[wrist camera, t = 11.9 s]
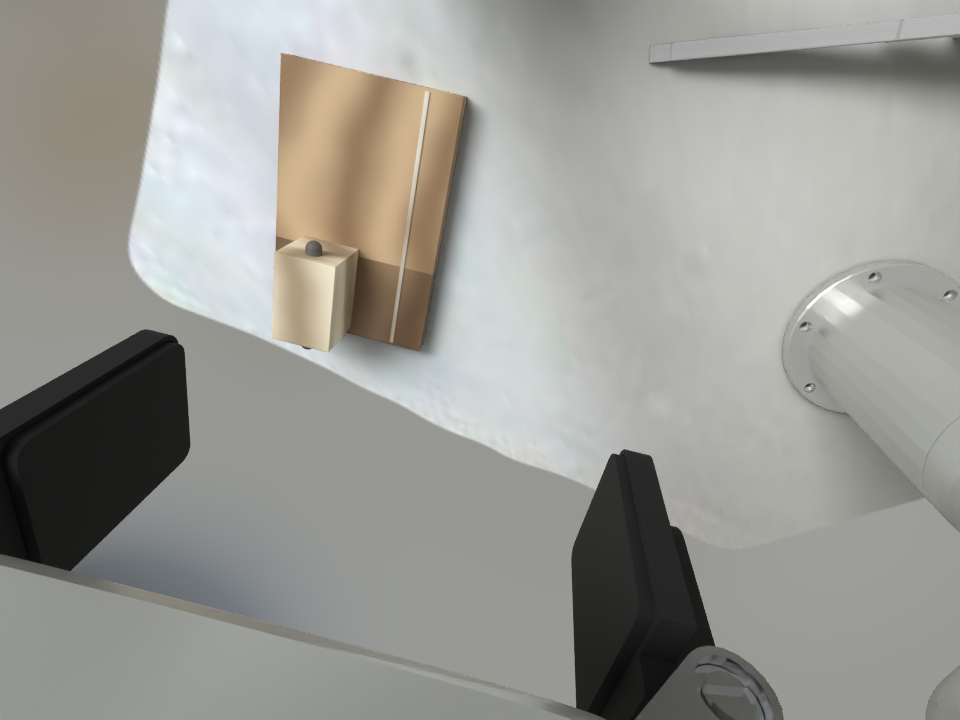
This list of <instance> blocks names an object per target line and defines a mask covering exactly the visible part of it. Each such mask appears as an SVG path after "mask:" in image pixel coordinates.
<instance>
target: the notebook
mask: <svg viewBox="0 0 960 720" xmlns="http://www.w3.org/2000/svg"><path fill="white" fill-rule="evenodd" d="M466 99H467V97H465V96H461V95H457V94H453V93H449V92H444V91H440V90H436V89H432V88H428V87H424V86H419V85H415V84H411V83H407V82H403V81H398V80H394V79H390V78H386V77H382V76H378V75H373V74H369V73H365V72H361V71H357V70H352V69H348V68H344V67H340V66H336V65H332V64H327V63H323V62H319V61H315V60H311V59H307V58H302V57H298V56H294V55H289V54H283V53H281V73H280V110H279V147H278V184H277V221H276V251H277V250H279V249H281V248H283V247H284V246H286V245H288V244H290V243H292V242H294V241H295V240H297V239H299V238H301V237H303V236H308V237H312V238H316V239H320V240H324V241H328V242H332V243H336V244H340V245H344V246H348V247H352V248H357V249H359V252H358V261H357V271H356V281H355V291H354V300H353V310H352V320H351V328H350V329H349V330H348V331H347V332H346V333H349V334H353V335H357V336H361V337H365V338H369V339H373V340H377V341H381V342H385V343H389V344H393V345H397V346H401V347H405V348H409V349H413V350H417V351H420V349H421V347H422V345H423V342H424V336H425V330H426V325H427V319H428V314H429V308H430V302H431V297H432V291H433V285H434V280H435V274H436V268H437V263H438V257H439V252H440V246H441V240H442V235H443V229H444V223H445V218H446V212H447V206H448V201H449V195H450V190H451V184H452V178H453V173H454V167H455V161H456V156H457V150H458V144H459V139H460V133H461V128H462V122H463V116H464V111H465V105H466Z"/></svg>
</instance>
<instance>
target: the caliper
mask: <svg viewBox="0 0 960 720" xmlns="http://www.w3.org/2000/svg"><path fill="white" fill-rule="evenodd" d="M952 36H953V38H960V14H950V15H941V16H931V17H921V18H911V19H903V20H896V21H886V22H876V23H866V24H856V25H846V26H836V27H826V28H816V29H806V30H795V31H785V32H775V33H765V34H755V35H745V36H735V37H725V38H715V39H705V40H695V41H685V42H675V43H670V44H660V45H652V46H650V59H649V63H654V62H665V61H678V60H691V59H702V58H713V57H725V56H736V55H747V54H758V53H769V52H781V51H792V50H803V49H814V48H825V47H837V46H848V45H859V44H870V43H882V42H885V43H888V42H899V41H910V40H921V39H931V38H940V37H952Z"/></svg>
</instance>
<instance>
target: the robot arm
mask: <svg viewBox="0 0 960 720" xmlns="http://www.w3.org/2000/svg"><path fill="white" fill-rule="evenodd" d="M871 274H872V275H871ZM870 275H871V276H870ZM802 323H803V324H802ZM801 324H802V325H801ZM782 355H783V364H784V367H785V370H786V373H787V376H788V377H789V379H790V380H791V382H792V383H793V385H794V386H795V387H796V388H797V390H798V391H799V392H800V393H801V394H802V395H803V396H804V397H806V398H807V399H808V400H810V401H811V402H812V403H814V404H816V405H818V406H821V407H823V408H825V409H828V410H832V411H836V412H840V413H848V414H849V415H850V416H851V417H852V419H853V420H854V421H855V422H856V423H857V424H858V425H859V426H860V427H861V428H862V429H863V430H864V432H865V433H866V434H867V435H868V436H869V437H870V438H871V439H872V440H873V441H874V442H875V443H876V445H877V446H878V447H879V448H880V449H881V450H882V451H883V452H884V453H885V454H886V455H887V456H888V458H889V459H890V460H891V461H892V462H893V463H894V464H895V465H896V466H897V467H898V468H899V469H900V471H901V472H902V473H903V474H904V475H905V476H906V477H907V478H908V479H909V480H910V481H911V483H912V484H913V485H914V486H915V487H916V488H917V489H918V490H919V491H920V492H921V493H922V494H923V495H924V497H925V498H926V499H927V500H928V501H929V502H930V503H931V504H932V505H933V506H934V507H935V508H936V509H937V510H938V511H939V512H940V513H941V514H942V516H943V517H944V518H945V519H946V520H947V521H948V522H949V523H950V524H951V525H952V526H954V527H955V528H956V529H957V530H958V531H959V532H960V287H959V286H958V285H957V284H956V282H955V281H954V280H952V279H951V278H949V277H948V276H946V275H945V274H943V273H941V272H940V271H937V270H935V269H933V268H930V267H928V266H926V265H922V264H918V263H914V262H909V261H884V262H875V263H871V264H867V265H863V266H860V267H856V268H853V269H851V270H849V271H847V272H844V273H842V274H840V275H838V276H836V277H834V278H833V279H831V280H830V281H828V282H826V283H825V284H823V285H822V286H821V287H819V288H818V289H817V290H816V291H815V292H814V293H812V294H811V295H810V296H809V297H808V298H807V299H806V300H805V301H804V303H803V304H802V305H801V306H800V307H799V308H798V310H797V311H796V313H795V314H794V316H793V318H792V320H791V321H790V323H789V325H788V328H787V331H786V333H785V336H784V341H783V349H782ZM189 448H190V432H189V416H188V400H187V385H186V368H185V353H184V348H183V346H181V345H180V344H178V341H177V339H176V338H175V337H174V336H172V335H168V334H164V333H159V332H156V331H152V330H142V331H140V332H138V333H136V334H134V335H132V336H130V337H129V338H127V339H125V340H123V341H122V342H120V343H118V344H116V345H115V346H113V347H111V348H109V349H107V350H105V351H104V352H102V353H100V354H99V355H97V356H95V357H93V358H91V359H89V360H88V361H86V362H84V363H82V364H80V365H79V366H77V367H75V368H73V369H72V370H70V371H68V372H66V373H64V374H63V375H61V376H59V377H57V378H55V379H54V380H52V381H50V382H49V383H47V384H45V385H43V386H41V387H39V388H38V389H36V390H34V391H32V392H31V393H29V394H27V395H25V396H23V397H22V398H20V399H18V400H16V401H14V402H13V403H11V404H9V405H7V406H5V407H4V408H2V409H0V720H784V718H783V712H782V708H781V705H780V703H779V700H778V698H777V696H776V694H775V692H774V691H773V689H772V688H771V686H770V685H769V683H768V682H767V681H766V679H765V678H764V677H763V676H762V675H761V674H760V673H759V672H758V671H757V670H756V669H755V668H754V667H753V666H752V665H751V664H750V663H748V662H747V661H746V660H744V659H743V658H741V657H740V656H739V655H737V654H735V653H733V652H730V651H728V650H726V649H724V648H720V647H715V644H714V640H713V637H712V634H711V630H710V627H709V623H708V620H707V616H706V613H705V609H704V606H703V602H702V599H701V596H700V592H699V589H698V585H697V582H696V578H695V575H694V571H693V568H692V565H691V562H690V558H689V554H688V551H687V547H686V544H685V540H684V537H683V535H682V532H681V530H679V529H678V528H677V527H674V526H670V523H669V519H668V515H667V512H666V508H665V504H664V500H663V497H662V493H661V489H660V485H659V482H658V478H657V474H656V470H655V467H654V463H653V459H652V457H651V456H649V455H645V454H641V453H637V452H633V451H629V450H625V449H624V450H622V451H621V453H620V455H617V454H612V455H611V456H610V458H609V460H608V463H607V465H606V467H605V470H604V472H603V475H602V477H601V480H600V482H599V484H598V487H597V489H596V492H595V494H594V497H593V499H592V501H591V504H590V506H589V509H588V511H587V514H586V516H585V518H584V521H583V523H582V526H581V528H580V531H579V533H578V536H577V538H576V540H575V543H574V546H573V551H572V592H573V620H574V621H573V622H574V652H575V679H576V680H575V681H576V708H574V707H571V706H568V705H565V704H562V703H559V702H556V701H553V700H550V699H547V698H543V697H540V696H536V695H533V694H529V693H526V692H523V691H519V690H516V689H512V688H508V687H505V686H501V685H498V684H495V683H491V682H488V681H484V680H480V679H477V678H474V677H470V676H467V675H463V674H459V673H455V672H452V671H448V670H445V669H441V668H437V667H433V666H430V665H426V664H422V663H418V662H414V661H411V660H407V659H403V658H399V657H396V656H392V655H389V654H385V653H381V652H377V651H373V650H370V649H366V648H362V647H359V646H355V645H351V644H347V643H344V642H340V641H336V640H333V639H329V638H325V637H321V636H317V635H314V634H310V633H306V632H302V631H298V630H295V629H291V628H287V627H283V626H279V625H276V624H272V623H268V622H264V621H260V620H256V619H253V618H249V617H245V616H241V615H237V614H234V613H230V612H226V611H222V610H218V609H214V608H211V607H207V606H203V605H199V604H195V603H191V602H188V601H183V600H180V599H176V598H172V597H168V596H164V595H160V594H157V593H153V592H149V591H145V590H141V589H137V588H133V587H129V586H126V585H122V584H118V583H114V582H110V581H106V580H102V579H98V578H94V577H90V576H86V575H82V574H79V573H75V572H71V570H72V569H73V568H74V567H75V566H76V565H77V564H78V563H79V562H80V561H81V560H82V559H83V558H84V557H85V556H86V555H87V554H88V553H89V552H90V551H91V550H92V549H93V548H94V547H95V546H97V545H98V544H99V543H100V542H101V541H102V540H103V539H104V538H105V537H106V536H107V535H108V534H109V533H110V532H111V531H112V530H113V529H114V528H115V527H116V526H117V525H118V524H119V523H120V522H121V521H122V520H123V519H124V518H125V517H126V516H127V515H128V514H129V513H130V512H131V511H132V510H133V509H134V508H135V507H137V506H138V505H139V504H140V503H141V502H142V501H143V500H144V499H145V498H146V497H147V496H148V495H149V494H150V493H151V492H152V491H153V490H154V489H155V488H156V487H157V486H158V485H159V484H160V483H161V482H162V481H163V480H164V479H165V478H166V477H167V476H168V475H169V474H170V473H171V472H172V471H174V470H175V469H176V467H178V466H179V465H180V464H181V463H182V462H183V461H184V459H185V458H186V456H187V455H188V452H189ZM926 720H960V666H959V667H957V668H956V669H955V670H954V671H953V672H952V673H950V674H949V675H948V676H947V677H946V678H945V679H944V680H942V682H941V683H940V684H939V685H938V686H937V687H936V688H935V690H934V691H933V693H932V695H931V697H930V699H929V701H928V705H927V709H926Z"/></svg>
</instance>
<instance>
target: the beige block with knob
mask: <svg viewBox="0 0 960 720" xmlns="http://www.w3.org/2000/svg"><path fill="white" fill-rule="evenodd" d="M358 252H359V249H357V248H352V247H348V246H344V245H340V244H336V243H332V242H328V241H324V240H320V239H316V238H312V237H308V236H303V237H301V238H299V239H297V240H295V241H294V242H292V243H290V244H288V245H286V246H284V247H283V248H281V249H279V250H277V251H275V252H274V291H273V329H272V339H276V340H280V341H284V342H288V343H292V344H296V345H300V346H302V347H303V348H304V349H316V350H320V351H324V352H329V351H330V350H331V349H332V348H333V347H334V346H335V344H336V343H337V342H338V341H339V340H340V339H341V338H342V337H343V335H344V334H345V333H346V332H347V331H348V330H349V329H350V328H351V320H352V310H353V300H354V291H355V281H356V271H357V261H358Z"/></svg>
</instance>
